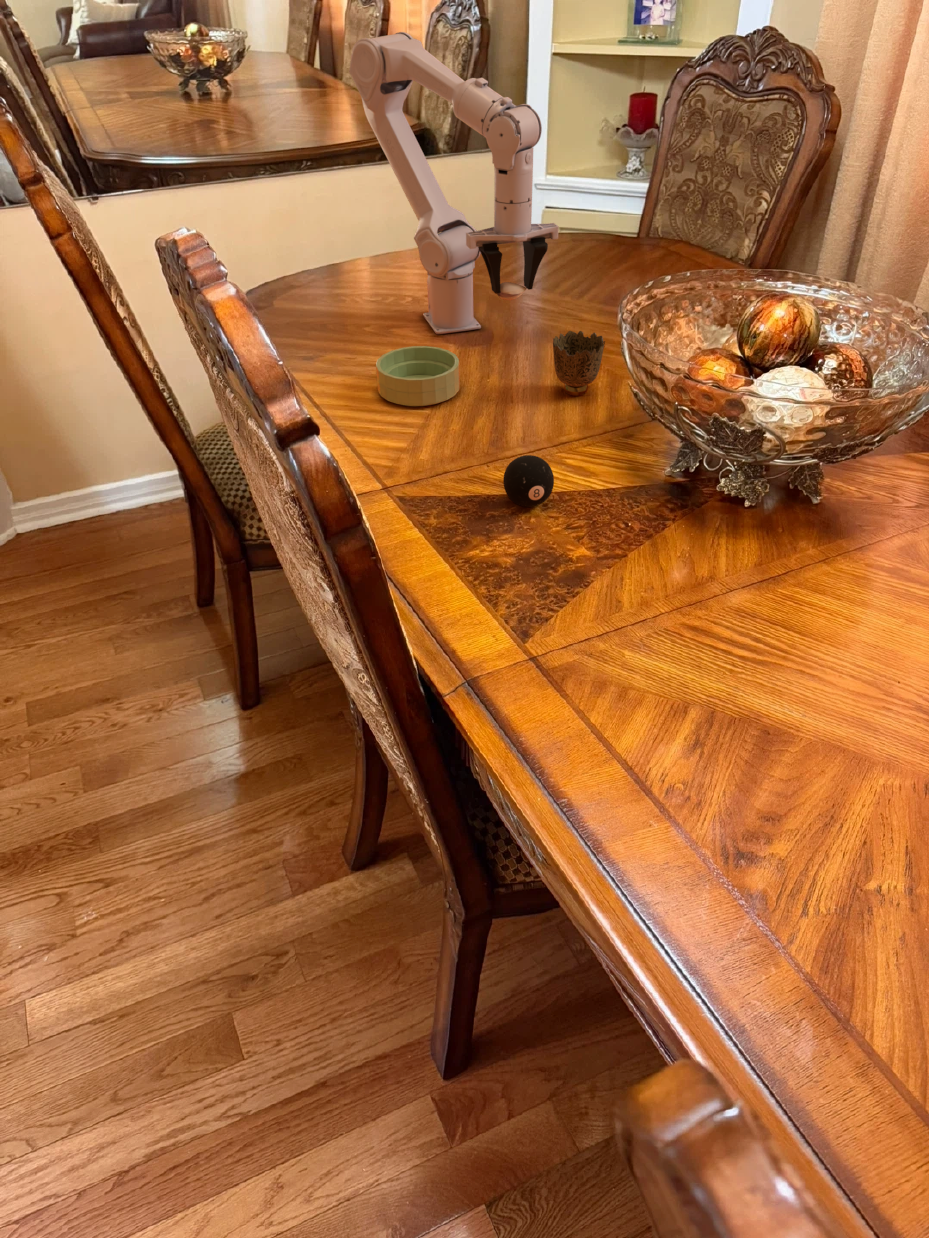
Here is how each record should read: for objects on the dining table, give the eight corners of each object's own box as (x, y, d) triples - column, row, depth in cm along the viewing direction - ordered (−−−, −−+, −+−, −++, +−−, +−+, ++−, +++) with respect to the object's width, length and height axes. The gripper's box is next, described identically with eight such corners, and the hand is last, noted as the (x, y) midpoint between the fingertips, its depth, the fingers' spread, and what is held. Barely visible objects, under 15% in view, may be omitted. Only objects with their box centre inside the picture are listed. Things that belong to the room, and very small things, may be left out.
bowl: (371, 380, 137) (368, 352, 134) (447, 369, 140) (446, 341, 137) (388, 414, 128) (385, 384, 125) (469, 402, 130) (468, 373, 128)
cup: (542, 397, 131) (544, 344, 126) (562, 378, 136) (564, 327, 131) (589, 407, 128) (593, 353, 123) (607, 387, 133) (612, 335, 128)
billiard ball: (512, 519, 106) (512, 475, 102) (497, 494, 110) (497, 450, 106) (559, 511, 107) (562, 467, 103) (543, 486, 111) (544, 443, 108)
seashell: (492, 296, 145) (492, 280, 143) (520, 292, 146) (521, 276, 144) (503, 305, 141) (503, 289, 140) (531, 300, 143) (532, 284, 141)
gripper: (475, 210, 130) (476, 303, 138) (567, 200, 133) (563, 292, 141) (461, 198, 135) (463, 288, 144) (550, 189, 138) (547, 278, 147)
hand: (511, 289), depth 143 cm, fingers closed on seashell, 5 cm apart
